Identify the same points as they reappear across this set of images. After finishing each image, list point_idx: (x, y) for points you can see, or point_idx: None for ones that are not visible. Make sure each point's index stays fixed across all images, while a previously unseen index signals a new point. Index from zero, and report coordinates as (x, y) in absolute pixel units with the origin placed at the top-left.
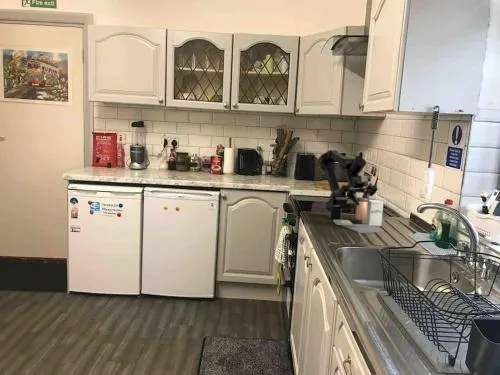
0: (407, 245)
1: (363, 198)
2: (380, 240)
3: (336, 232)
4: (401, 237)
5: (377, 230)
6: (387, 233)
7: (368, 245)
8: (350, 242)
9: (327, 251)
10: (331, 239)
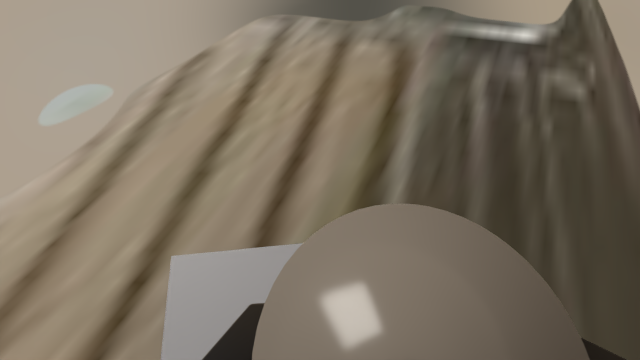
0: (254, 24)
1: (431, 275)
2: (332, 91)
3: (541, 268)
4: (167, 126)
5: (228, 255)
6: (179, 218)
7: (427, 42)
8: (493, 80)
9: (593, 11)
10: (578, 127)
